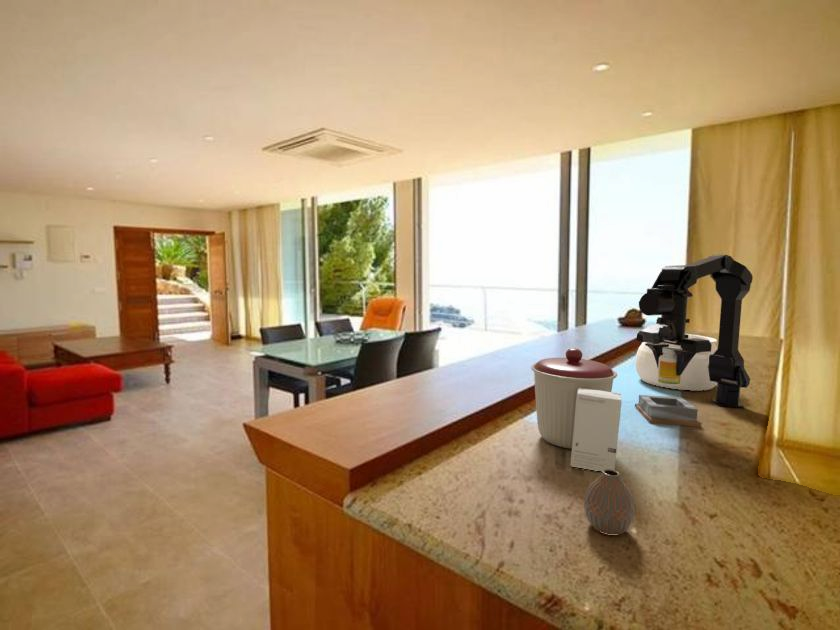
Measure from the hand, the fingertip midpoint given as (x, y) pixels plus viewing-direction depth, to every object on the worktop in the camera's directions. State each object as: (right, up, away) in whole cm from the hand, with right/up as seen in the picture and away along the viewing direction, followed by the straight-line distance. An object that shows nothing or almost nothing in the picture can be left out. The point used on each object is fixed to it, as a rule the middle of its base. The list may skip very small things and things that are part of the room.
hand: (669, 372), depth 124 cm
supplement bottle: (0, -3, 0) cm, 3 cm away
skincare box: (-32, -15, -32) cm, 47 cm away
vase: (-38, -17, -54) cm, 68 cm away
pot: (+23, -9, +38) cm, 46 cm away
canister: (-32, -13, -18) cm, 39 cm away
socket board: (0, -12, +1) cm, 12 cm away
